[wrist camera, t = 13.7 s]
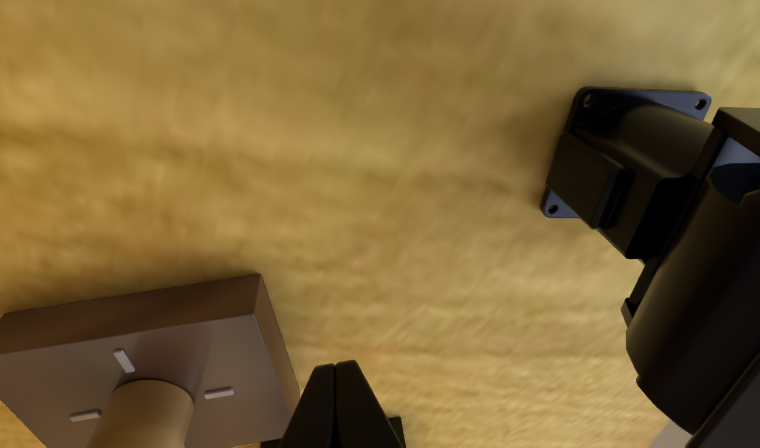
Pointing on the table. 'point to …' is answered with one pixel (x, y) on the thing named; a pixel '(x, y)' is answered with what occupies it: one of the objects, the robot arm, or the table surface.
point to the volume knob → (144, 417)
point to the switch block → (272, 445)
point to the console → (152, 361)
